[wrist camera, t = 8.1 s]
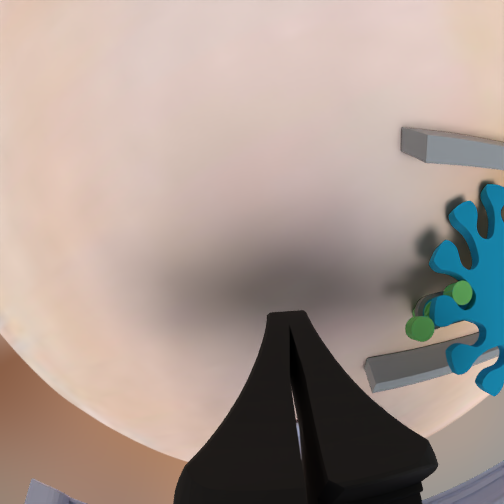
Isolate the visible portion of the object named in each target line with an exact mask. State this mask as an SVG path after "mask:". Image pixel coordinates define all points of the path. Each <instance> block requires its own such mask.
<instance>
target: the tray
mask: <svg viewBox="0 0 504 504" xmlns="http://www.w3.org/2000/svg"><path fill="white" fill-rule="evenodd" d="M401 151H402V152H404V153H406V154H408V155H411V156H413V157H415V158H417V159H419V160H421V161H423V162H425V163H436V164H450V165H462V166H473V167H482V168H491V169H499V170H504V142H500V141H495V140H490V139H485V138H480V137H474V136H469V135H463V134H456V133H449V132H442V131H434V130H426V129H416V128H406V127H402V140H401ZM478 337H479V333H476V334H472V335H469V336H465V337H462V338H458V339H454V340H451V341H447V342H443V343H439V344H435V345H431V346H427V347H422V348H418V349H413V350H409V351H404V352H399V353H394V354H388V355H383V356H377V357H372V358H367V361H366V364H365V372H366V375H367V378H368V381H369V384H370V387H371V391H372V393H375V392H380V391H385V390H390V389H394V388H398V387H403V386H407V385H411V384H415V383H419V382H422V381H426V380H430V379H433V378H437V377H440V376H443V375H447V374H450V373H453V372H452V371H451V369H450V367H449V365H448V362H447V359H446V349H447V348H448V347H449V346H450V345H451V344H454V343H461V344H466V345H470V346H471V345H473V344H474V343H475V342H476V341H477V340H478ZM497 356H499V348H498V346H496V347H493V348H491V349H489V350H487V351H486V352H484V353H483V354H482V355H480V356H479V357H478V358H477V360H476V361H475V362H474V363H473V365H472V366H474V365H476V364H479V363H482V362H484V361H487V360H490V359H492V358H495V357H497Z"/></svg>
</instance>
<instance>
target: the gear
mask: <svg viewBox="0 0 504 504" xmlns="http://www.w3.org/2000/svg"><path fill="white" fill-rule="evenodd" d="M480 197H481V201H482V204H483V206H484V207H485V210H486V213H487V217H488V234H487V239H484V238H482V237H481V236H480V235H479V233H478V231H477V218H478V213H477V209H476V207H475V205H474V204H473V202H471V201H466V202H463V203H461V204H460V205H458V206H457V207H456V208H455V209H453V211H452V212H451V213H450V214H449V221H450V223H451V225H452V226H453V227H454V228H455V229H456V230H457V231H459V232H460V234H461V235H462V236H463V237H464V239H465V240H466V242H467V244H468V247H469V250H470V253H471V257H472V267H471V269H470V270H468V269H466V268H464V266H463V265H462V264H461V261H460V257H459V253H458V249H457V247H456V246H455V245H454V243H452V242H451V241H449V240H445V241H443V242H442V243H441V244H440V245H439V246H438V247H437V248H436V249H435V251H434V253H433V255H432V257H431V259H430V262H429V266H430V267H431V269H432V270H433V271H435V272H437V273H442V274H447V275H450V276H452V277H454V278H455V279H456V280H458V282H456V283H453V284H450V285H448V286H447V287H446V288H445V290H444V291H442V292H438V293H435V294H430V295H427V296H424V297H423V298H421V299H420V300H419V301H418V303H417V305H416V307H415V309H414V310H413V317H412V318H411V319H409V321H408V322H407V324H406V328H405V330H406V334H407V336H408V337H409V338H411V339H414V340H417V341H420V342H424V341H427V340H429V339H430V338H431V337H432V335H433V333H434V329H437V328H440V327H445V326H448V325H450V324H454V323H457V322H460V321H464V320H465V321H469V322H471V323H474V324H476V325H477V327H478V329H479V337H478V340H477V341H476V342H475V343H474V344H473V345H471V346H470V345H466V344H461V343H454V344H451V345H450V346H449V347H448V348H447V349H446V359H447V362H448V365H449V367H450V369H451V371H452V372H453V373H455V374H457V375H460V374H464V373H465V372H467V371H468V370H469V369H470V368H471V366H472V365H473V363H474V362H475V361H476V360H477V358H478V357H479V356H480V355H482V354H483V353H484V352H486V351H487V350H489V349H491V348H493V347H496V346H498V348H499V358H498V360H497V361H496V363H495V364H494V365H492V366H489V367H487V368H484V369H483V370H481V371H480V373H479V374H478V375H477V377H476V380H475V383H476V384H477V386H478V387H479V388H480V389H482V390H483V391H485V392H487V393H489V394H491V395H493V396H496V395H497V394H498V393H499V392H500V390H501V389H502V387H503V384H504V222H503V220H502V217H501V209H502V207H503V206H504V187H502V186H500V185H495V184H487V185H486V186H485V187H484V189H483V190H482V192H481V195H480Z"/></svg>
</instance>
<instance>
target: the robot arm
mask: <svg viewBox="0 0 504 504" xmlns="http://www.w3.org/2000/svg"><path fill="white" fill-rule="evenodd" d="M291 387H292V389H291ZM292 392H293V397H292ZM293 398H294V403H295V408H296V413H297V418H298V423H296V419H295V412H294V405H293ZM437 467H438V462H437V459H436V456H435V453H434V451H433V449H432V447H431V445H430V443H429V441H428V440H427V439H425V438H424V437H422V436H420V435H419V434H417V433H415V432H414V431H412V430H411V429H409V428H408V427H406V426H405V425H403V424H402V423H401V422H399V421H398V420H397V419H395V418H394V417H392V416H391V415H390V414H389V413H388V412H386V411H385V410H384V409H383V408H382V407H380V406H379V405H378V404H377V403H376V402H374V401H373V400H372V399H371V398H370V397H369V396H368V395H367V394H366V393H365V392H364V391H363V390H362V389H361V388H360V387H359V386H358V385H357V384H356V383H355V382H354V381H353V380H352V379H351V378H350V376H349V375H348V374H347V373H346V372H345V371H344V369H343V368H342V367H341V366H340V364H339V363H338V362H337V361H336V359H335V358H334V357H333V355H332V354H331V353H330V351H329V350H328V348H327V347H326V346H325V344H324V343H323V341H322V340H321V338H320V337H319V335H318V333H317V332H316V330H315V328H314V327H313V325H312V323H311V321H310V319H309V317H308V315H307V313H306V312H305V311H304V310H300V311H286V312H272V313H269V314H268V315H267V323H266V329H265V334H264V337H263V341H262V344H261V347H260V350H259V353H258V356H257V359H256V361H255V364H254V366H253V368H252V371H251V373H250V375H249V378H248V380H247V382H246V384H245V386H244V388H243V390H242V391H241V393H240V395H239V397H238V399H237V400H236V402H235V404H234V405H233V407H232V408H231V410H230V412H229V413H228V415H227V416H226V418H225V419H224V421H223V422H222V423H221V425H220V426H219V427H218V429H217V430H216V431H215V432H214V434H213V435H212V436H211V438H210V439H209V440H208V441H207V443H206V444H205V445H204V446H203V447H202V448H201V449H200V450H199V452H198V453H197V454H196V455H195V456H194V457H193V458H192V459H191V460H190V461H189V462H188V463H187V464H186V465H185V467H184V469H183V471H182V473H181V475H180V477H179V480H178V483H177V486H176V490H175V495H174V503H173V504H504V460H503V461H502V462H500V463H498V464H497V465H495V466H493V467H492V468H490V469H488V470H487V471H485V472H483V473H481V474H479V475H477V476H476V477H474V478H472V479H470V480H468V481H466V482H464V483H462V484H460V485H458V486H455V487H453V488H451V489H449V490H447V491H444V492H442V493H440V494H437V495H435V496H432V497H430V498H427V499H425V500H421V495H420V492H421V491H423V487H422V483H421V481H423V480H424V479H425V478H427V477H428V476H429V475H431V474H432V473H433V472H434V471H435V470H436V469H437ZM25 504H87V503H84V502H81V501H79V500H76V499H74V498H71V497H69V496H68V495H66V494H65V493H63V492H61V491H59V490H57V489H55V488H53V487H51V486H48V485H46V484H44V483H42V482H40V481H38V480H36V479H31V483H30V486H29V489H28V493H27V496H26V500H25Z"/></svg>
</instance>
